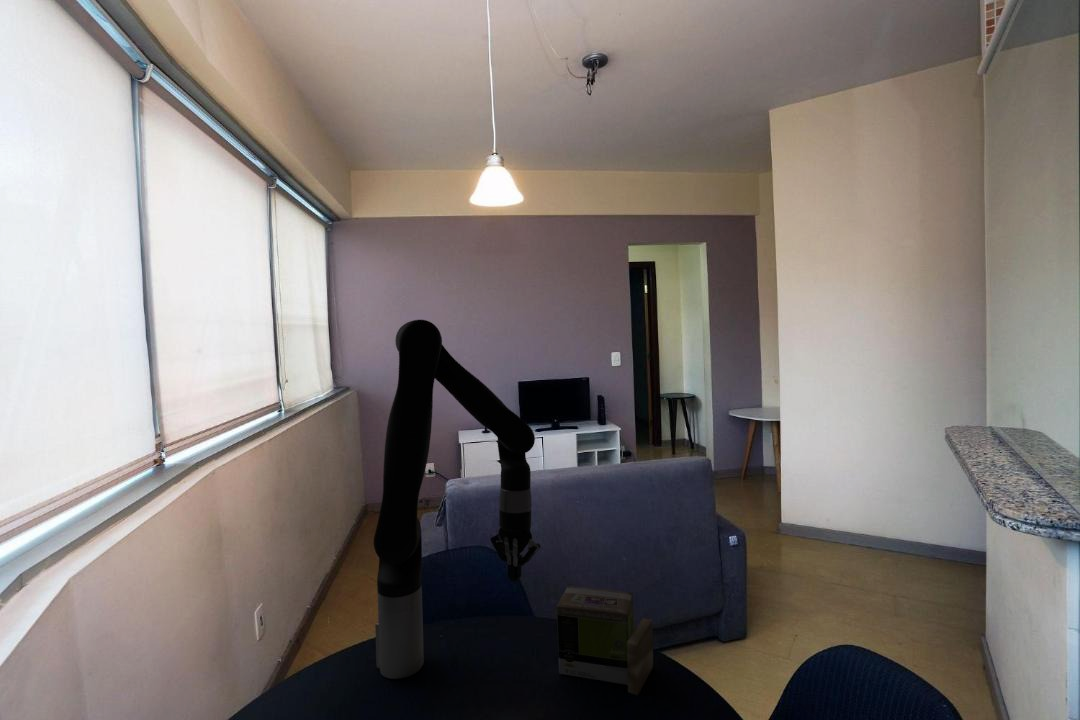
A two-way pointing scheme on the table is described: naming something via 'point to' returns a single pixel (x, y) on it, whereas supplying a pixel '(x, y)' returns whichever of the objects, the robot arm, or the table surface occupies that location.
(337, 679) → the table surface
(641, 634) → the birch board
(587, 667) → the tea box
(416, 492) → the robot arm
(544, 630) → the table surface
